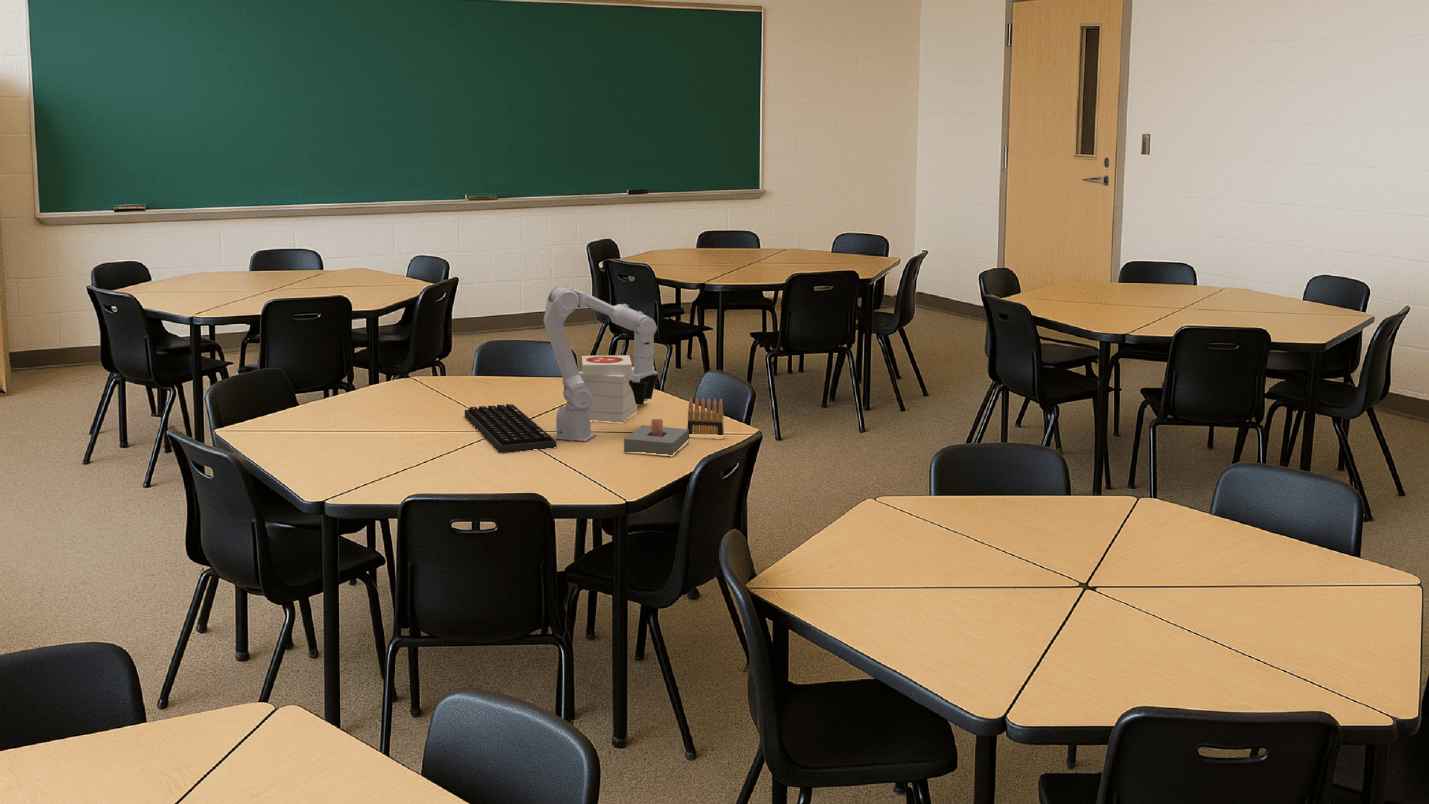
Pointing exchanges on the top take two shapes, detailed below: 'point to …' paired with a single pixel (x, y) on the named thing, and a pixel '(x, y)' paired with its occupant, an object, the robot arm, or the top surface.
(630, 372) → the pizza boxes
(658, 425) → the peg
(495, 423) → the computer keyboard
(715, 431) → the ammunition clip
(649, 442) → the socket block
